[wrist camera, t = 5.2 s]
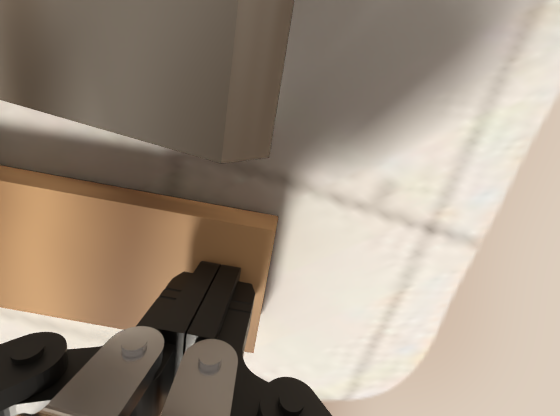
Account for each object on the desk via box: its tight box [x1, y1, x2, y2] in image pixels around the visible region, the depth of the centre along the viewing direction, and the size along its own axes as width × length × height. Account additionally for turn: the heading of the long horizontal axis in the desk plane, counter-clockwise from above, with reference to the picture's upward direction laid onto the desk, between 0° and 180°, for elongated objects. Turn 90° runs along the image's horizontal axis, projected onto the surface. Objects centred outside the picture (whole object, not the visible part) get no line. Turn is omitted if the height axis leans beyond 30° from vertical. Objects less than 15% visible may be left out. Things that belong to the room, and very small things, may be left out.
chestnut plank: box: [0, 165, 278, 353], centre depth 11 cm, size 12×6×2 cm, turn 80°
